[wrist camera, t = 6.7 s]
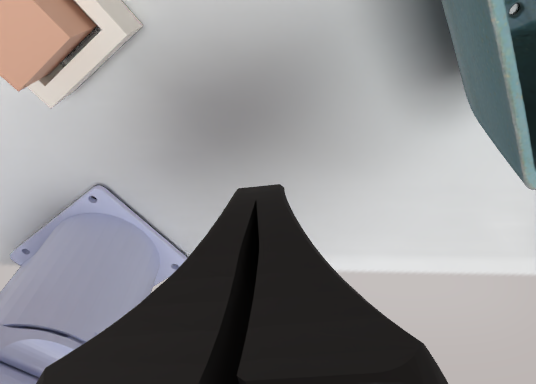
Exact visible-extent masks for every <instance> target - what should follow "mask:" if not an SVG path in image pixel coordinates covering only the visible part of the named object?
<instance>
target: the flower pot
mask: <svg viewBox="0 0 536 384" xmlns="http://www.w3.org/2000/svg"><path fill="white" fill-rule="evenodd" d="M441 1H442V5H443V8H444V12H445V16H446V20H447V23H448V27H449V31H450V34H451V38H452V42H453V46H454V50H455V54H456V58H457V61H458V65H459V69H460V73H461V77H462V81H463V85H464V89H465V93H466V96H467V99H468V102H469V104H470V107H471V109H472V111H473V113H474V115H475V117H476V118H477V120H478V122H479V123H480V125H481V126H482V128H483V129H484V130H485V132H486V133H487V135H488V136H489V137H490V139H491V140H492V141H493V143H494V144H495V146H496V147H497V148H498V150H499V151H500V152H501V154H502V155H503V156H504V158H505V159H506V160H507V162H508V163H509V164H510V166H511V167H512V168H513V170H514V171H515V172H516V173H517V175H518V176H519V177H520V179H521V180H522V181H523V183H524V184H525V185H526V186H527V187H528V188H529V189H531V190H536V0H441ZM515 3H518V4H519V5H520V9H519V11H518V12H517V13H516V14H514V15H510V14H509V11H510V8H511V7H512V6H513V5H514V4H515Z"/></svg>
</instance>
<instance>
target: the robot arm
mask: <svg viewBox="0 0 536 384" xmlns="http://www.w3.org/2000/svg"><path fill="white" fill-rule="evenodd" d="M91 196H94V197H96V199H97V200H96V199H93V198H92V197H91ZM10 258H11V260H13V261H14V262H15V263H17V264H18V265H20V266H21V267H20V268H19V269H18V270H17V272H16V273H15V274H14V275H13V277H12V278H11V279H10V281H9V282H8V283H7V284H6V286H5V287H4V288H3V289H2V291H1V292H0V384H448V382H447V381H446V379H445V377H444V375H443V374H442V372H441V370H440V368H439V367H438V365H437V363H436V362H435V360H434V359H433V357H432V355H431V354H430V352H429V351H428V349H427V348H426V346H425V345H424V344H423V343H422V342H420V341H419V340H417V339H416V338H415V337H413V336H412V335H410V334H409V333H407V332H406V331H404V330H403V329H402V328H400V327H399V326H398V325H396V324H395V323H393V322H392V321H391V320H390V319H388V318H387V317H386V316H384V315H383V314H382V313H381V312H379V311H378V310H377V309H375V308H374V307H373V306H372V305H371V304H370V303H368V302H367V301H366V300H365V299H364V298H363V297H362V296H361V295H360V294H358V293H357V292H356V291H355V290H354V289H353V288H352V287H351V286H350V285H349V284H348V283H347V282H345V281H344V280H343V279H342V278H341V276H339V274H338V273H337V272H336V271H335V270H334V269H333V268H332V267H331V266H330V265H329V263H328V262H327V261H326V260H325V259H324V258H323V257H322V255H321V254H320V253H319V252H318V250H317V249H316V248H315V246H314V245H313V244H312V242H311V241H310V239H309V238H308V237H307V235H306V234H305V232H304V231H303V229H302V228H301V226H300V224H299V222H298V221H297V219H296V217H295V216H294V214H293V212H292V210H291V208H290V206H289V203H288V201H287V199H286V196H285V192H284V187H283V186H281V185H280V184H278V185H268V186H259V187H249V188H239V189H238V190H237V191H236V192H235V193H234V195H233V197H232V198H231V200H230V201H229V203H228V205H227V206H226V208H225V209H224V211H223V212H222V214H221V215H220V217H219V218H218V220H217V221H216V222H215V224H214V225H213V227H212V228H211V229H210V231H209V232H208V234H207V235H206V236H205V237H204V239H203V240H202V241H201V242H200V244H199V245H198V246H197V247H196V249H195V250H194V251H193V252H192V253H191V255H190V256H189V257H188V258H187V257H186V256H185V255H184V254H182V253H181V252H180V251H179V250H178V249H177V248H175V247H174V246H173V245H172V244H171V243H169V242H168V241H167V240H166V239H165V238H164V237H162V236H161V235H160V234H159V233H158V232H157V231H155V230H154V229H153V228H152V227H151V226H149V225H148V224H147V223H146V222H145V221H144V220H142V219H141V218H140V217H139V216H138V215H136V214H135V213H134V212H133V211H132V210H131V209H129V208H128V207H127V206H126V205H125V204H124V203H122V202H121V201H120V200H119V199H118V198H116V197H115V196H114V195H113V194H112V193H111V192H109V191H108V190H107V189H106V188H104V187H103V186H94V187H93V188H91V189H90V190H89V191H88V192H86V193H85V194H84V195H83V196H81V197H80V198H79V199H78V200H76V201H75V202H74V203H73V204H71V205H70V206H69V207H68V208H66V209H65V210H64V211H62V212H61V213H60V214H59V215H57V216H56V217H55V218H54V219H52V220H51V221H50V222H49V223H47V224H46V225H45V226H44V227H42V228H41V229H40V230H39V231H37V232H36V233H35V234H34V235H32V236H31V237H30V238H29V239H27V240H26V241H25V242H23V243H22V244H21V245H20V246H18V247H17V248H16V249H15V250H13V252H12V253H11V254H10ZM174 264H177V265H174ZM168 277H169V278H168ZM167 278H168V279H167ZM165 279H167V280H166V281H165V282H164V283H163V284H161V285H160V286H159V287H158V288H157V289H156V290H154V291H153V292H152V293H151V291H152V288H153V286H155V285H157V284H158V283H160V282H161V281H163V280H165Z"/></svg>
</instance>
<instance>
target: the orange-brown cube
mask: <svg viewBox="0 0 536 384" xmlns="http://www.w3.org/2000/svg"><path fill="white" fill-rule="evenodd" d="M96 26H97V25H96V24H95V23H94V22H93V21H92V20H91V19H90V18H89V17H88V16H87V15H86V14H85V13H84V11H83V10H82V9H81V8H80V7H79V6H78V5H77V4H76V3H75V2H74V1H73V0H0V76H1V77H3V78H4V79H5V80H6V81H7V82H8V83H9V84H11V85H12V86H13V87H14V88H15V89H16V90H17V91H20V90H22V89H24V88H25V87H27V86H29V85H31V84H32V83H34V82H36V81H38V80H39V79H41V78H43V77H45V76H46V75H48V74H50V73H51V72H52V71H53V70H54V69H55V68H56V67H57V66H58V65H59V64H60V63H61V62H62V61H63V60H64V59H65V58H66V57H67V56H68V55H69V54H70V53H71V52H72V51H73V50H74V49H75V48H76V46H77V45H78V44H79V43H80V42H81V41H82V40H83V39H84V38H85V37H86V36H87V35H88V34H89V33H90V32H91V31H92V30H93V29H94V28H95V27H96Z"/></svg>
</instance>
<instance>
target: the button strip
mask: <svg viewBox="0 0 536 384" xmlns="http://www.w3.org/2000/svg"><path fill="white" fill-rule="evenodd" d="M74 1H75V2H76V3H77V4H78V5H79V6H80V7H81V8H82V9H83V10H84V11H85V12H86V13H87V15H88V16H89V17H90V18H91V19H92V20H93V21H94V22H95V23H96V24H97V25H98V26H99V27H100V29H101V31H100V32H99V33H98V34H97V35H96V36H95V37H94V38H93V39H92V40H91V41H90V42H89V43H88V44H87V45H86V46H85V47H84V48H83V49H82V50H81V51H80V52H79V53H78V54H77V55H76V56H75V57H74V58H73V59H72V60H71V61H70V62H69V63H68V64H67V65H66V66H65V67H63V66H62V65H61V64H59V65H58V66H57V67H56V68H55V69H54V70H53V71H52V72H51V73H50V74H48V75H46V76H45V77H43V78H41V79H39V80H38V81H36V82H34V83H32V84H31V85H29V86H27V88H28V89H29V90H31V91H32V92H33V93H34V94H35V95H36V96H37V97H38V98H39V99H41V100H42V101H43V102H44V103H45V104H46V105H47V106H48V107H50V108H52V107H54V106H55V105H56V104H58V103H59V102H61V101H62V100H63V99H65V98H66V97H67V96H69V95H70V94H71V93H73V92H74V91H75V90H76V89H77V88H78V87H79V86H80V85H81V84H82V83H83V82H84V81H85V80H86V79H88V78H89V77H90V76H91V75H92V74H93V73H94V72H95V71H96V70H97V69H98V68H99V67H100V66H101V65H102V64H103V63H104V62H105V61H106V60H107V59H109V58H110V57H111V56H112V55H113V54H114V53H115V52H116V51H117V50H118V49H119V48H120V47H121V46H122V45H123V44H124V43H125V42H126V41H127V40H128V39H130V38H131V37H132V36H133V35H134V34H135V33H136V32H137V31H138V30H139V29H140V28H141V27H142V26H143V24H142V23H141V22H140V21H139V20H138V19H137V18H136V16H135V15H134V14H133V13H132V12H131V11H130V10H129V8H128V7H127V6H126V5H125V4H124V3H123V1H122V0H74Z"/></svg>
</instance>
